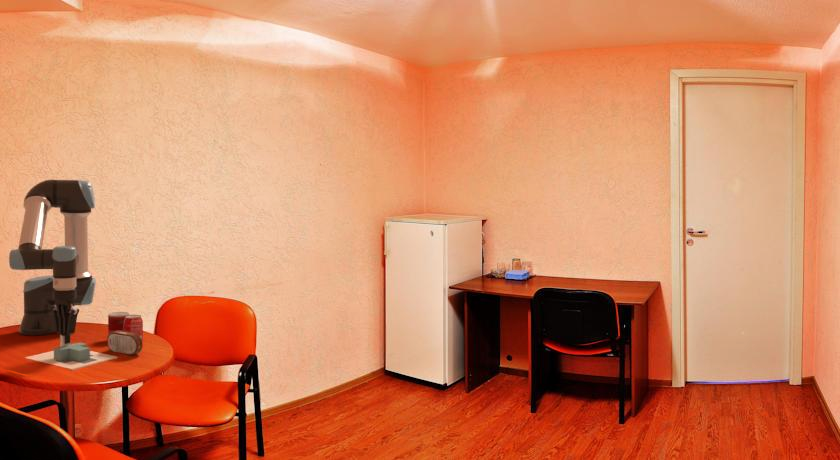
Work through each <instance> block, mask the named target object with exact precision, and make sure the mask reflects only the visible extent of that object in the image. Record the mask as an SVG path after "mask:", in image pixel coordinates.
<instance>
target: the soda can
mask: <svg viewBox="0 0 840 460" xmlns="http://www.w3.org/2000/svg"><path fill="white" fill-rule="evenodd" d="M143 321H144V320H143V318H142V315H141V314H129V315H128V316H125V320H124V323H123V331H125V332H132V333H136V334H137V335H138V336H139V337H140V338H141V340H142V343H143V342H144V341H143V340H144V339H143V338H144V324H143V323H144V322H143Z"/></svg>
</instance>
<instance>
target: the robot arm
mask: <svg viewBox="0 0 840 460" xmlns="http://www.w3.org/2000/svg"><path fill="white" fill-rule="evenodd" d="M95 201H96V199H95V193H94V189H93V184H92V183H91V182H90V181H88V180H81V179H47V180H43V181H40V182H39V183H36V185H34V186H33V187H32V188H30V189H29V191H28V192H27V193H26V195H25V197H24V200H23V207H24V209H25V210H24V215H23V220H22V225H21V231H20V237H19V242H18V248H17V249H11V250H10V252H9V255H8V262H9V268H10V269H11V270H15V271H16V270H17V271H18V270H19V271H26V270H27V271H30V270H33V271H34V270H35V271H36V270H52V275H51V274H50V275H42V276H35V277H31V278H28V279H26V280H25V281H24V283H23V290H22V292H23V317H22V319H21V322H20V325H19V328H18V330H19V331H18V332H19V334H20V335H24V336H42V335H50V334H55V333H58V335H59V343H60V345H59V347H62V346H67V345H71V335H72V334H75V333H76V328H77V327H76V326H77V320H78V315H79V312H80V308H76V307H75V306H88V305H91V304H92V303H93V301H94V297H95V288H96V281H97V279H96V277H93V274H92V273H91V272H90V271H89V258H88V257H89V247H88V246H89V245H88V244H89V242H88V241H89V238H88V216H89V215H90V214H92V209H95V207H96V202H95ZM53 208H57V209H58V208H59V212H60V214H62V215H63V217H64V219H63V220H64V221H63V222H64V225H63V226H64V246H63V245H60V246H59V245H58V246H55V247H53V248H52V249H51V248H48V249H47V248H44V249H43V245H44V243H43V242H44V236H45V229H46V224H47V218H48V217H47V215H48V213H49V212H50V210H51V209H53Z"/></svg>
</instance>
